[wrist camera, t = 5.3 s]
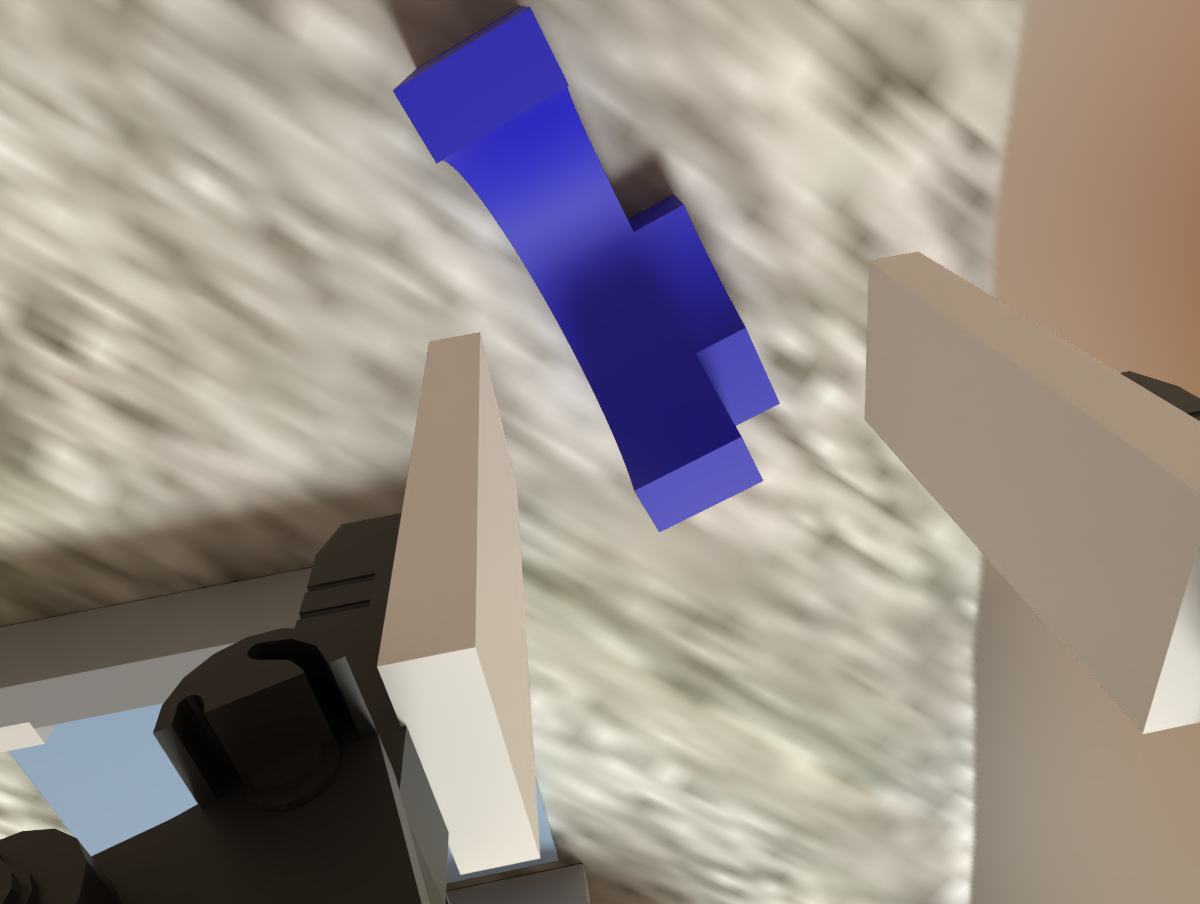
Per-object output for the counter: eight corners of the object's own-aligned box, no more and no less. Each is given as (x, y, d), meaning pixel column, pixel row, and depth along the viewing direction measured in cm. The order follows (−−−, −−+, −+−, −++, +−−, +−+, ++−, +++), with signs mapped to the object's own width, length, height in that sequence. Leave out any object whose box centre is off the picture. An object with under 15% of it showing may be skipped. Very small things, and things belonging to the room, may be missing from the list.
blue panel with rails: (-97, 646, 27) (-166, 720, 24) (496, 531, 27) (497, 591, 24) (161, 975, 37) (135, 1053, 34) (589, 886, 38) (597, 956, 35)
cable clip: (750, 362, 26) (816, 454, 20) (625, 427, 26) (659, 532, 21) (572, -26, 20) (601, -37, 15) (417, 68, 20) (392, 90, 15)
